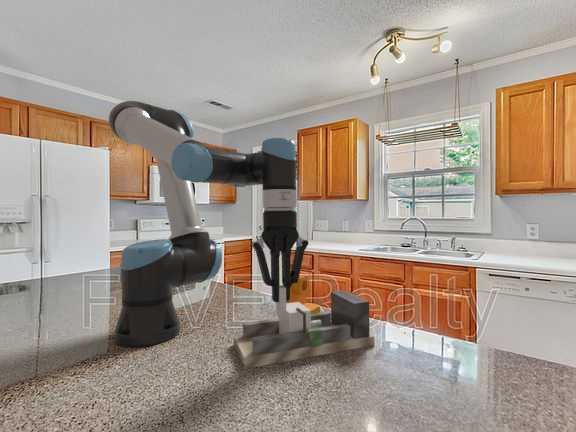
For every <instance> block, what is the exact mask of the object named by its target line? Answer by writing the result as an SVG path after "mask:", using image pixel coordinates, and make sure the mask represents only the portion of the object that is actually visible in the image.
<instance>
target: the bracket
mask: <svg viewBox="0 0 576 432" xmlns="http://www.w3.org/2000/svg"><path fill="white" fill-rule="evenodd" d="M309 288H310V280H309V278H308V276H306V275H299V279H298V282H297V283H294V284H292V286H291V287H290V300H289V301H286V303H294V302H299V303H301V304H302V305H304V306H305V307H306V308H308V309H309V310H311V314H315V313H321V305H320V304H316V303H311V302H307V300H306V299H307V298H306V295H307V293H308V292H309V290H310V289H309Z"/></svg>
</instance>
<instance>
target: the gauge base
mask: <svg viewBox="0 0 576 432" xmlns="http://www.w3.org/2000/svg"><path fill="white" fill-rule="evenodd" d="M330 311H331V312H329V311H324V312H320V313H315V314H311V321H314V320H321V322H322V326H321V327H316V328H310V329H306V333H303V330H302V331H295V332H289V333H282V334H280V333H279V317H277V318H271V319H262V320H254V321H250V322H249V321H248V322H243V323H242V335H241V334H240V335H235V336H234V335H233V346H234V348H235V350H236V352H237V354H238V357H239V359H240V361H241V364H242V365H243V368H244V369H245V370H247V369H252V368H258V367H264V366H269V365H274V364H280V363H285V362H291V361H297V360H301V359H308V358H314V357H318V356H324V355H329V354H334V353H340V352H346V351H350V350H351V351H352V350H355V349H360V348H361V349H363V348H368V347H372V346H373V347H374V346H375V342H376V341H375V336H374V335H373V334H371V333H370V301H369V300H366V299H365V298H362V297H360V296H359V295H355V294H353V293H351V292H350V291H346V290H338V291H337V290H336V291H335V290H334V291H330Z"/></svg>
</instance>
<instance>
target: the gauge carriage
mask: <svg viewBox="0 0 576 432" xmlns="http://www.w3.org/2000/svg"><path fill="white" fill-rule="evenodd" d="M278 318H279V333H280V334H282V333H289V332H295V331H302V330H303V333H306V329H310V328H316V327H321V326H322V322H321V320H314V321H311V310H309V309H308V308H306V307H305V306H304V305H302V304H301V303H299V302H294V303H286V317H284V318H280V317H279V316H278Z"/></svg>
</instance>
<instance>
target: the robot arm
mask: <svg viewBox="0 0 576 432" xmlns="http://www.w3.org/2000/svg"><path fill="white" fill-rule="evenodd" d="M108 124H109V128H110V130H111V132H112V133H113V134H114V136H116V137H117V138H118V139H119V140H121V141H123V142H125V143H127V144H131V145H137V146H139V147H140V148H142V149H144V150H145V151H147V152H148V153H149V155H150V156H151V157H152V158H154V159H155V161H156V165H157V170H158V175H159V179H160V180H159V181H160V185H161V189H162V195H163V200H164V204H165V208H166V212H167V218H168V223H169V229H170V232H171V233H170V236H169V237H168V239H165V238H164V239H154V240H145V241H141V242H136V243H133V244H130V245H127V246H126V247H124V248H123V250H122V251H121V258H120V265H119V266H120V267H119V268H120V279H121V283H120V284H121V309H120V313H119V316H118V318H117V321H116V325H115V328H114V332H113V336H114V337H113V338H114V342H115V344H116V345H119V346H123V347H129V348H131V347H135V348H137V347H138V348H139V347H146V346H152V345H157V344H160V343H163V342H166V341H170V340H172V339H173V338H175V337H176V336H178V335H179V334H180V331H181V322H180V318H179V316H178V313H177V309H176V307H175V304H174V301H173V289H174V288H178V287H182V286H183V287H184V286H188V285H193V284H196V283H198V284H199V283H204V282H206V281H208V280H212V279H214V277H215V276H217V275H218V274H219V271H220V269H221V267H222V264H223V252H222V249H221V246H220V244H218V242H217V241H215V240H213V239H211V237H210V234H209V231H208V230H206V229H204V228H203V227H202V223H201V219H200V214H199V209H198V206H197V205H198V204H197V201H196V196H195V192H194V187H193V183H196V184H197V183H202V184H203V183H205V184H220V185H228V186H231V187H239V188H244V187H247V186H249V187H250V186H257V185H259V186H260V185H262V208H263V209H265V210H264V211H263V212H262V227H263V228H262V232H261V235H260V238H258V239H257V240H256V241H252V242H251V247H252V249H253V251H254V252H255V253H256V254H255V255H256V258H257V261H258V266H259V269H260V273H261V277H262V281H263V283H264V284H265V285H266V286H268V287H271V298H272V299H271V300H272V301H273V302H274V303H275V313H276V315H277V316H278V318H279V317H280V318H284V317H286V301H289V300H290V287H291V286H292V284H294V283H297V282H298V279H299V276H300V273H301V270H302V265H303V260H304V255H305V251H306V248H307V247H308V246H309V241H308V240H307V239H306V240H305V239H303V238H302V237H301V236H300V234H299V232H298V229H297V228H298V213H297V211H296V210H295V208H297V207H298V206H297V205H298V204H297V203H298V202H297V161H298V159H297V154H296V153H297V150H296V143H295V142H294V141H293V140H292V139H289V138H284V137H271V138H270V137H269V138H266V139H265V140H263V141H262V144H261V150H260V151H257V152H252V153H243V152H238V151H233V150H227V149H221V148H216V147H213V146H209V145H206V144H204V143H202V142H200V141H198V140H196V139H194V138H193V137H194V128H193V127H194V126H193V124H192V122H191V120H190V119H189V118H188V117H187V115H185V114H183V113H181V112H178V111H176V110H174V109H167V108H163V107H160V106H155V105H153V104H149V103H146V102H141V101H137V100H126V101H123V102H120V103H117V104H116V105H115V106H114V107H113V108H112V109H111V111H110V112H109V116H108ZM264 244H265V245H266V247H267V248H268V250H269V254H270V271H269V266H268V262H267V258H266V253H265V251H264V248H265V245H264ZM294 246H296V247H295V250H294V254H293V260H292V264H291V256H292V248H293V247H294ZM280 256H281V277H280ZM280 279H281V284H280Z"/></svg>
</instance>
